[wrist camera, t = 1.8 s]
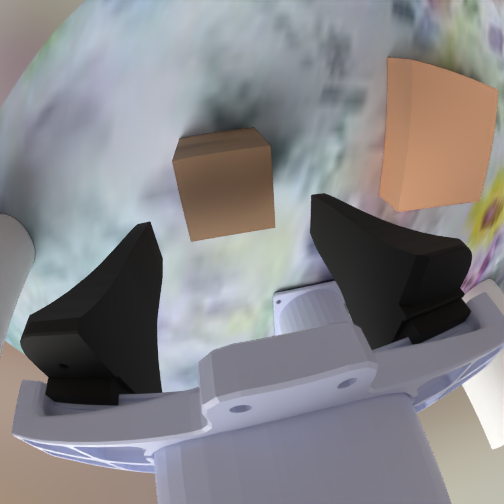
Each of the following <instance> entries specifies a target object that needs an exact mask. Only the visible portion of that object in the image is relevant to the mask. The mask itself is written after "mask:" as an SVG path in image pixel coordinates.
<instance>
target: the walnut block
mask: <svg viewBox="0 0 504 504" xmlns="http://www.w3.org/2000/svg"><path fill="white" fill-rule="evenodd" d="M172 162H173V167H174V172H175V176H176V181H177V185H178V190H179V194H180V199H181V203H182V207H183V211H184V215H185V220H186V224H187V228H188V232H189V236H190V240H191V242H192V241H198V240H204V239H210V238H215V237H221V236H227V235H233V234H239V233H245V232H251V231H257V230H264V229H270V228H275V212H274V192H273V174H272V157H271V145H270V144H269V143H268V142H267V141H266V140H265V139H264V138H263V137H262V135H261V134H260V133H259V132H258V131H257V130H256V129H255V128H254V127H252V128H243V129H235V130H228V131H221V132H215V133H208V134H202V135H197V136H191V137H186V138H181V139H179V142H178V145H177V148H176V151H175V154H174V157H173V160H172Z"/></svg>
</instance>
